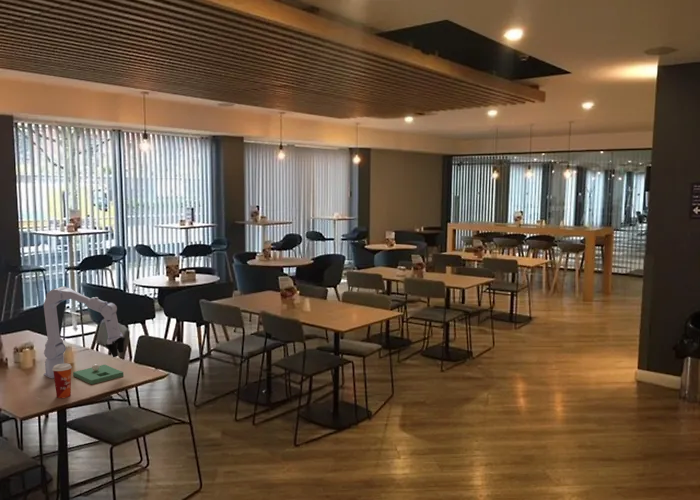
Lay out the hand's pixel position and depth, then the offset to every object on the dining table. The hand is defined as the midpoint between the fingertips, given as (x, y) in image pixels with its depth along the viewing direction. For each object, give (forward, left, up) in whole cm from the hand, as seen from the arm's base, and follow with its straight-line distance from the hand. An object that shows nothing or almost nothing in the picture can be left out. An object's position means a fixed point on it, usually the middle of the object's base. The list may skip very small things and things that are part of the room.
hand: (118, 354), depth 286 cm
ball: (-9, -7, -7) cm, 14 cm away
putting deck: (-7, -7, -11) cm, 14 cm away
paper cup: (+8, -30, -11) cm, 33 cm away
